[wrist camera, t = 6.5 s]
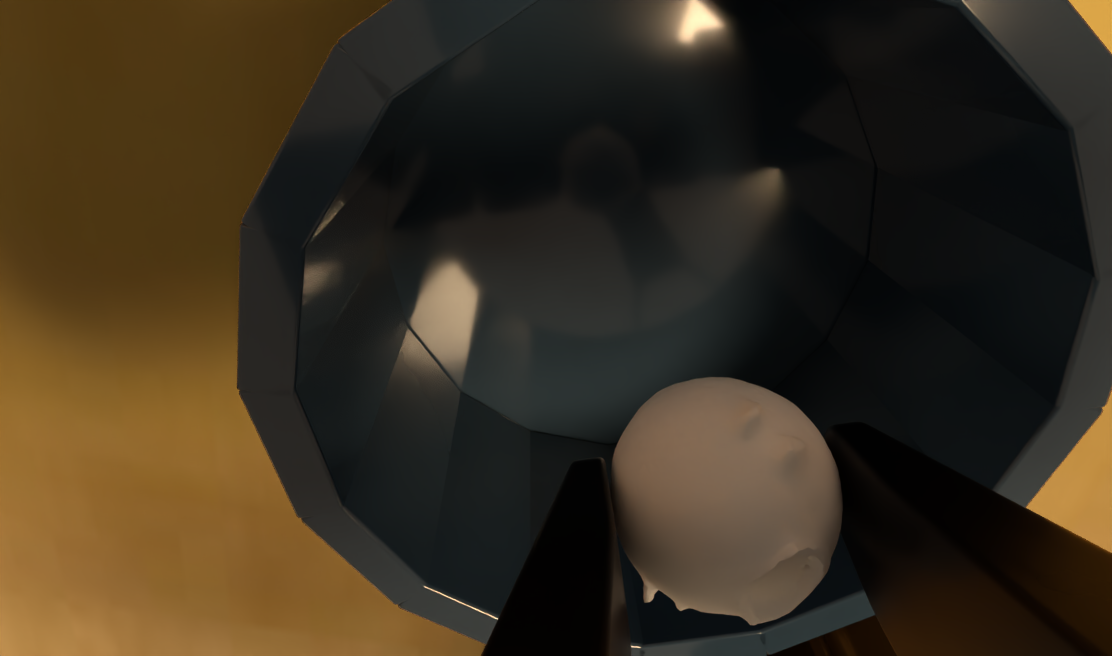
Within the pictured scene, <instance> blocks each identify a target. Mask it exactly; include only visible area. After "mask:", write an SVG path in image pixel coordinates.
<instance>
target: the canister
mask: <svg viewBox="0 0 1112 656" xmlns="http://www.w3.org/2000/svg"><path fill="white" fill-rule="evenodd" d="M241 222H242V223H241V224H240V226H239V284H238V351H237V389H238V390H239V395H240V397H241V399H242V401H243V403H244V405H245V407H246V410H247V412H248V414H249V416H250V418H251V420H252V422H253V424H254V426H255V429H256V431H257V433H258V435H259V437H260V439H261V441H262V443H263V446H264V448H265V450H266V452H267V454H268V456H269V458H270V460H271V462H272V465H273V467H274V469H275V471H276V473H277V475H278V477H279V479H280V481H281V484H282V486H283V488H284V490H285V492H286V494H287V496H288V498H289V501H290V503H291V505H292V507H293V509H294V511H295V513H296V515H297V517H298V518H301V520H302V522H303V523H304V524H305V525H306V526H307V527H308V528H309V529H310V530H312V531H313V532H314V533H315V534H316V535H317V536H318V537H319V538H320V539H322V540H323V541H324V542H325V543H326V544H327V545H328V546H329V547H331V548H332V549H333V550H334V551H335V552H336V553H337V554H338V555H339V556H341V557H342V558H343V559H344V560H345V561H346V562H347V563H348V564H349V565H351V566H352V567H353V568H354V569H355V570H356V571H357V572H358V573H359V574H361V575H362V576H363V577H364V578H365V579H366V580H367V581H368V582H370V583H371V584H372V585H373V586H374V587H375V588H376V589H377V590H378V591H380V592H381V593H382V594H383V595H384V596H385V597H386V598H387V599H388V600H390V601H391V602H392V603H393V604H395V605H398V607H399V608H400V609H403V610H405V611H407V612H410V613H412V614H414V615H417V616H419V617H422V618H424V619H426V620H429V621H431V622H433V623H436V624H438V625H440V626H443V627H445V628H447V629H450V630H452V631H455V632H457V633H459V634H462V635H464V636H466V637H469V638H471V639H473V640H476V641H478V642H481V643H483V644H485V645H486V644H487V641H488V639H489V637H490V635H491V633H492V631H493V629H494V626H495V624H496V622H497V620H498V618H499V616H500V614H501V612H502V609H503V607H504V605H505V603H506V601H507V599H508V597H509V595H510V592H511V590H512V588H513V586H514V584H515V582H516V580H517V577H518V575H519V573H520V571H521V569H522V567H523V565H524V563H525V560H526V558H527V556H528V554H529V552H530V550H531V548H532V545H533V543H534V541H535V539H536V537H537V535H538V533H539V531H540V528H541V526H542V524H543V522H544V520H545V518H546V516H547V514H548V511H549V509H550V507H551V505H552V503H553V501H554V499H555V496H556V494H557V492H558V490H559V488H560V486H561V484H562V482H563V479H564V477H565V475H566V473H567V471H568V469H569V467H570V465H571V463H572V462H574V461H576V460H581V459H589V458H596V457H601V458H603V459H604V460H605V464H606V470H607V476H608V482H609V488H610V483H611V467H612V460H613V455H614V451H615V448H616V446H617V444H618V441H619V439H620V437H621V435H622V434H623V432H624V430H625V429H626V427H627V425H628V424H629V422H630V421H631V419H632V418H633V417H634V415H635V414H636V412H637V411H638V409H639V408H640V407H641V406H642V405H643V404H644V403H645V402H646V401H647V400H649V399H650V398H651V397H652V396H653V395H654V394H656V393H657V392H658V391H660V390H662V389H664V388H666V387H669V386H671V385H673V384H676V383H680V382H684V381H689V380H692V379H696V378H697V379H698V378H707V377H724V378H726V377H729V378H733V379H737V380H742V381H745V382H747V383H751V384H754V385H757V386H760V387H763V388H765V389H768V390H770V391H772V392H774V393H776V394H778V395H780V396H782V397H784V398H785V399H787V400H789V401H790V402H792V403H793V404H794V405H796V406H797V407H798V408H799V409H800V410H801V411H802V412H803V413H804V414H805V415H806V416H807V417H808V418H809V419H810V420H811V422H812V423H813V424H814V425H815V426H816V428H817V429H818V430H819V432H820V433H821V435H822V436H823V438H824V439H825V433H826V430H827V429H828V428H829V427H830V426H832V425H837V424H845V423H852V422H862V423H865V424H867V425H869V426H871V427H873V428H875V429H877V430H879V431H881V432H883V433H885V434H887V435H888V436H890V437H892V438H894V439H896V440H898V441H900V442H902V443H904V444H906V445H907V446H909V447H911V448H913V449H915V450H917V451H919V452H921V453H923V454H924V455H926V456H928V457H930V458H932V459H934V460H936V461H938V462H940V463H942V464H943V465H945V466H947V467H949V468H951V469H953V470H955V471H957V472H959V473H961V474H962V475H964V476H966V477H968V478H970V479H972V480H974V481H976V482H978V483H979V484H981V485H983V486H985V487H987V488H989V489H991V490H993V491H995V492H997V493H998V494H1000V495H1002V496H1004V497H1006V498H1008V499H1010V500H1012V501H1014V502H1016V503H1017V504H1019V505H1021V506H1023V507H1025V508H1026V507H1027V506H1028V504H1029V503H1030V502H1031V501H1032V499H1033V498H1034V497H1035V496H1036V494H1037V493H1038V492H1039V491H1040V490H1041V488H1042V487H1043V486H1044V485H1045V483H1046V482H1047V481H1048V480H1049V478H1050V477H1051V476H1052V475H1053V473H1054V472H1055V471H1056V470H1057V468H1058V467H1059V466H1060V465H1061V464H1062V462H1063V461H1064V460H1065V459H1066V457H1067V456H1068V455H1069V454H1070V452H1071V451H1072V450H1073V449H1074V447H1075V446H1076V445H1077V444H1078V442H1079V441H1080V440H1081V439H1082V437H1083V436H1084V435H1085V434H1086V433H1087V431H1088V430H1089V429H1090V428H1091V426H1092V425H1093V424H1094V423H1095V421H1096V420H1097V419H1098V418H1099V416H1100V415H1101V414H1102V412H1103V409H1102V407H1104V406H1105V405H1106V404H1107V402H1108V399H1109V396H1110V393H1111V391H1112V54H1111V52H1110V51H1109V50H1108V49H1107V47H1106V46H1105V45H1104V44H1103V42H1102V41H1101V40H1100V39H1099V37H1098V36H1097V35H1096V34H1095V33H1094V31H1093V30H1092V29H1091V28H1090V26H1089V25H1088V24H1087V23H1086V21H1085V20H1084V19H1083V18H1082V16H1081V15H1080V14H1079V13H1078V12H1077V10H1076V9H1075V8H1074V7H1073V5H1072V4H1071V3H1070V2H1069V0H390V1H389V2H388V3H386V4H385V5H383V6H382V7H381V8H379V9H378V10H376V11H375V12H374V13H372V14H371V15H370V16H368V17H367V18H365V19H364V20H363V21H361V22H360V23H359V24H357V25H356V26H354V27H353V28H352V29H350V30H349V31H347V32H346V33H345V34H343V35H342V36H341V37H339V39H338V42H337V43H335V44H334V45H333V46H332V48H331V50H330V52H329V54H328V56H327V58H326V60H325V61H324V63H323V65H322V67H321V69H320V71H319V73H318V75H317V77H316V78H315V80H314V82H313V84H312V86H311V88H310V90H309V92H308V94H307V95H306V97H305V99H304V101H303V103H302V105H301V107H300V109H299V111H298V112H297V114H296V116H295V118H294V120H293V122H292V124H291V126H290V128H289V129H288V131H287V133H286V135H285V137H284V139H283V141H282V143H281V144H280V146H279V148H278V150H277V152H276V154H275V156H274V158H273V160H272V161H271V163H270V165H269V167H268V169H267V171H266V173H265V175H264V177H263V178H262V180H261V182H260V184H259V186H258V188H257V190H256V192H255V194H254V195H253V197H252V199H251V201H250V203H249V205H248V207H247V209H246V211H245V212H244V214H243V216H242V219H241ZM616 534H617V541H618V548H619V556H620V563H621V570H622V577H623V584H624V592H625V599H626V606H627V613H628V621H629V630H630V639H631V655H632V656H767V654H768V655H771V654H774V653H777V652H779V651H782V650H785V649H787V648H790V647H793V646H795V645H798V644H801V643H803V642H806V641H808V640H811V639H814V638H816V637H819V636H822V635H824V634H827V633H830V632H832V631H835V630H838V629H840V628H843V627H845V626H848V625H851V624H853V623H856V622H859V621H861V620H864V619H867V618H869V617H872V616H875V613H874V611H873V609H872V607H871V605H870V603H869V600H868V598H867V596H866V593H865V591H864V589H863V586H862V584H861V581H860V579H859V576H858V574H857V571H856V569H855V567H854V564H853V562H852V559H851V557H850V554H849V552H848V549H847V547H846V544H845V542H844V539H843V537H842V535H841V532H840V534H839V538H838V542H837V545H836V547H835V550H834V552H833V554H832V557H831V562H830V566H829V569H828V571H827V573H826V575H825V576H824V577H823V579H822V580H821V581H820V583H819V584H818V585H817V586H816V587H815V589H814V590H813V591H812V592H811V593H810V594H809V595H808V596H807V597H806V598H805V599H804V600H803V601H802V602H801V603H800V604H799V605H798V606H797V607H796V608H795V609H793V610H792V611H791V612H790V613H788V614H786V615H784V616H782V617H780V618H778V619H776V620H772V621H768V622H764V623H759V624H756V625H749V623H748V622H747V621H746V620H745V619H743V618H742V617H740V616H734V615H725V614H715V613H706V612H700V611H698V610H695V609H691V608H688V609H684V610H682V611H680V610H679V609H677V607H676V604H675V602H674V601H673V600H672V599H671V598H669V597H668V596H667V595H665V594H664V593H663V592H661V591H659V590H658V591H657V592H656V593H655V594H654V598H653V600H652V601H650V602H646V603H645V602H644V599H643V594H644V592H643V586H644V582H643V580H642V578H641V576H640V574H639V573H638V571H637V570H636V569H635V567H634V566H633V564H632V563H631V561H630V560H629V558H628V557H627V555H626V553H625V551H624V549H623V546H622V544H621V542H620V539H619V536H618V533H617V531H616Z"/></svg>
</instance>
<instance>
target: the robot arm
mask: <svg viewBox="0 0 1112 656" xmlns="http://www.w3.org/2000/svg"><path fill="white" fill-rule="evenodd" d="M824 440H825V442H826V444H827V446H828V448H829V449H830V451H831V453H832V456H833V458H834V460H835V462H836V465H837V468H838V471H839V476H840V481H841V490H842V498H843V512H842V524H841V530H840V532H841V535H842V537H843V539H844V542H845V544H846V547H847V549H848V552H849V554H850V557H851V559H852V562H853V564H854V567H855V569H856V571H857V574H858V576H859V579H860V581H861V584H862V586H863V589H864V591H865V593H866V596H867V598H868V600H869V603H870V605H871V607H872V609H873V611H874V613H875V616H872V617H869V618H867V619H864V620H861V621H859V622H856V623H853V624H851V625H848V626H845V627H843V628H840V629H838V630H835V631H832V632H830V633H827V634H824V635H822V636H819V637H816V638H814V639H811V640H808V641H806V642H803V643H801V644H798V645H795V646H793V647H790V648H787V649H785V650H782V651H779V652H777V653H774V654H771V655H768V654H767V656H1112V553H1110V552H1108V551H1107V550H1105V549H1103V548H1101V547H1099V546H1097V545H1095V544H1093V543H1091V542H1090V541H1088V540H1086V539H1084V538H1082V537H1080V536H1078V535H1076V534H1074V533H1072V532H1071V531H1069V530H1067V529H1065V528H1063V527H1061V526H1059V525H1057V524H1055V523H1053V522H1052V521H1050V520H1048V519H1046V518H1044V517H1042V516H1040V515H1038V514H1036V513H1035V512H1033V511H1031V510H1029V509H1027V508H1025V507H1023V506H1021V505H1019V504H1017V503H1016V502H1014V501H1012V500H1010V499H1008V498H1006V497H1004V496H1002V495H1000V494H998V493H997V492H995V491H993V490H991V489H989V488H987V487H985V486H983V485H981V484H979V483H978V482H976V481H974V480H972V479H970V478H968V477H966V476H964V475H962V474H961V473H959V472H957V471H955V470H953V469H951V468H949V467H947V466H945V465H943V464H942V463H940V462H938V461H936V460H934V459H932V458H930V457H928V456H926V455H924V454H923V453H921V452H919V451H917V450H915V449H913V448H911V447H909V446H907V445H906V444H904V443H902V442H900V441H898V440H896V439H894V438H892V437H890V436H888V435H887V434H885V433H883V432H881V431H879V430H877V429H875V428H873V427H871V426H869V425H867V424H865V423H862V422H852V423H845V424H837V425H832V426H830V427H829V428H828V429H827V430H826V433H825V439H824ZM481 656H632V655H631V639H630V630H629V621H628V613H627V606H626V599H625V592H624V584H623V577H622V570H621V563H620V556H619V548H618V541H617V534H616V527H615V519H614V513H613V507H612V501H611V494H610V488H609V482H608V476H607V470H606V464H605V460H604V459H603V458H601V457H596V458H589V459H581V460H576V461H574V462H572V463H571V465H570V467H569V469H568V471H567V473H566V475H565V477H564V479H563V482H562V484H561V486H560V488H559V490H558V492H557V494H556V496H555V499H554V501H553V503H552V505H551V507H550V509H549V511H548V514H547V516H546V518H545V520H544V522H543V524H542V526H541V528H540V531H539V533H538V535H537V537H536V539H535V541H534V543H533V545H532V548H531V550H530V552H529V554H528V556H527V558H526V560H525V563H524V565H523V567H522V569H521V571H520V573H519V575H518V577H517V580H516V582H515V584H514V586H513V588H512V590H511V592H510V595H509V597H508V599H507V601H506V603H505V605H504V607H503V609H502V612H501V614H500V616H499V618H498V620H497V622H496V624H495V626H494V629H493V631H492V633H491V635H490V637H489V639H488V641H487V644H486V646H485V648H484V650H483V652H482V654H481Z"/></svg>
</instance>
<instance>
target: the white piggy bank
mask: <svg viewBox="0 0 1112 656" xmlns="http://www.w3.org/2000/svg"><path fill="white" fill-rule="evenodd" d="M610 494H611V501H612V507H613V513H614V519H615V527H616V531H617V533H618V536H619V539H620V542H621V544H622V546H623V549H624V551H625V553H626V555H627V557H628V558H629V560H630V561H631V563H632V564H633V566H634V567H635V569H636V570H637V571H638V573H639V574H640V576H641V578H642V580H643V582H644V586H643V592H644V594H643V599H644V602H645V603H646V602H650V601H652V600H653V598H654V594H655V593H656V592H657V591H658V590H659V591H661V592H663V593H664V594H665V595H667V596H668V597H669V598H671V599H672V600H673V601H674V602H675V604H676V607H677V609H679V610H680V611H682V610H684V609H688V608H691V609H695V610H698V611H700V612H706V613H715V614H725V615H734V616H740V617H742V618H743V619H745V620H746V621H747V622H748V623H749V625H756V624H759V623H764V622H768V621H772V620H776V619H778V618H780V617H782V616H784V615H786V614H788V613H790V612H791V611H792V610H793V609H795V608H796V607H797V606H798V605H799V604H800V603H801V602H802V601H803V600H804V599H805V598H806V597H807V596H808V595H809V594H810V593H811V592H812V591H813V590H814V589H815V587H816V586H817V585H818V584H819V583H820V581H821V580H822V579H823V577H824V576H825V575H826V573H827V571H828V569H829V566H830V562H831V557H832V554H833V552H834V550H835V547H836V545H837V542H838V538H839V534H840V530H841V524H842V512H843V498H842V490H841V481H840V476H839V471H838V468H837V465H836V462H835V460H834V458H833V456H832V453H831V451H830V449H829V448H828V446H827V444H826V442H825V440H824V438H823V436H822V435H821V433H820V432H819V430H818V429H817V428H816V426H815V425H814V424H813V423H812V422H811V420H810V419H809V418H808V417H807V416H806V415H805V414H804V413H803V412H802V411H801V410H800V409H799V408H798V407H797V406H796V405H794V404H793V403H792V402H790V401H789V400H787V399H785V398H784V397H782V396H780V395H778V394H776V393H774V392H772V391H770V390H768V389H765V388H763V387H760V386H757V385H754V384H751V383H747V382H745V381H742V380H737V379H733V378H729V377H726V378H724V377H707V378H698V379H697V378H696V379H692V380H689V381H684V382H680V383H676V384H673V385H671V386H669V387H666V388H664V389H662V390H660V391H658V392H657V393H656V394H654V395H653V396H652V397H651V398H650V399H649V400H647V401H646V402H645V403H644V404H643V405H642V406H641V407H640V408H639V409H638V411H637V412H636V414H635V415H634V417H633V418H632V419H631V421H630V422H629V424H628V425H627V427H626V429H625V430H624V432H623V434H622V435H621V437H620V439H619V441H618V444H617V446H616V448H615V451H614V455H613V460H612V467H611V483H610Z"/></svg>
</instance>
